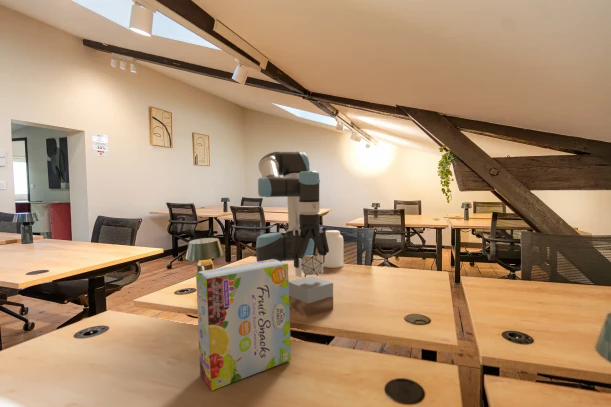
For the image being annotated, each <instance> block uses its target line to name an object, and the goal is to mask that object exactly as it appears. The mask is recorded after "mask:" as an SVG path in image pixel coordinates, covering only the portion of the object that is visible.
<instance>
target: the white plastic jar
mask: <svg viewBox="0 0 611 407" xmlns="http://www.w3.org/2000/svg"><path fill="white" fill-rule="evenodd" d="M326 238H327V243H328V248H329V252H328V253H327V254H326V255H325V262H324V263H323V268H330V269H336V268H337V269H338V268H342V267H343V266H344V236H343V235H341V231H340V230H336V229H329V230H327V229H326Z"/></svg>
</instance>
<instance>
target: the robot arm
mask: <svg viewBox="0 0 611 407" xmlns="http://www.w3.org/2000/svg"><path fill="white" fill-rule="evenodd" d="M258 163H259V164H258V170H259V172H260V174H261V177H259V178H258V179H257V191H258V192H257V193H258V196H259V197H260V198H261V197H262V198H263V197H264V198H282V197H283V198H285V197H287V216H288V218H287V220H288V229H286V231H285V235H282V232H270V233H264V234H261V235H258V236H257V238H256V245H255V248H256V262H259V261H265V260H271V259H275V260H278V261H280V262H288V261H289V262H291V261H293V267H294V268H295V276H296V277H298V278H302V270H301V260H302V258H303V256H302V254H303V255H304V256H306V255H314V248H316V250H317V252H318V254H316V255H317V256H316V258H317V259H318V260H319V261H320V263H322V264H320V267H319V270H318V272H317V273H323V274H324V266H323V263H324V262H325V255H326V254H327V253H328V252H329V248H328V243H327V238H326V231H327V227H324V226H320V225H319V224H320V222H321V220H320V214H319V213H320V183H321V180H320V173H319V172H318V171H317V170H316V171H315V170H310V161H309V157H308V155H307V154H306V152H303V151H273V152H270V153H267V154H265V155H264V156H263V157H262V158H261V159H260V161H259V162H258ZM281 176H283V177H281Z"/></svg>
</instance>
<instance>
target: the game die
mask: <svg viewBox="0 0 611 407" xmlns="http://www.w3.org/2000/svg"><path fill="white" fill-rule="evenodd" d="M302 256H303V258H302V260H301V272H302V273H303V274H304V277H303V278H307V276H310V275H312V276H314V275H316V276H317V277H318V276H319V274H318V273H319V272H318V270H319V267H320V264H322V263H320V261H319V260H318V259H317V256H316V253H313V255H306V256H304V255H303V254H302Z"/></svg>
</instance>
